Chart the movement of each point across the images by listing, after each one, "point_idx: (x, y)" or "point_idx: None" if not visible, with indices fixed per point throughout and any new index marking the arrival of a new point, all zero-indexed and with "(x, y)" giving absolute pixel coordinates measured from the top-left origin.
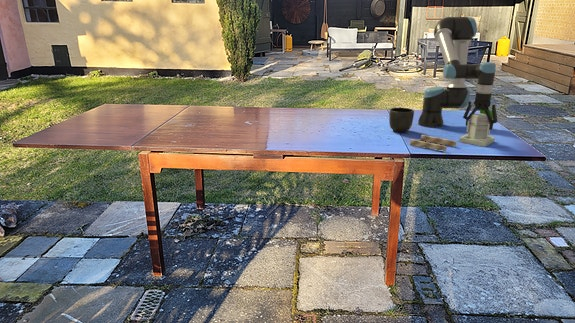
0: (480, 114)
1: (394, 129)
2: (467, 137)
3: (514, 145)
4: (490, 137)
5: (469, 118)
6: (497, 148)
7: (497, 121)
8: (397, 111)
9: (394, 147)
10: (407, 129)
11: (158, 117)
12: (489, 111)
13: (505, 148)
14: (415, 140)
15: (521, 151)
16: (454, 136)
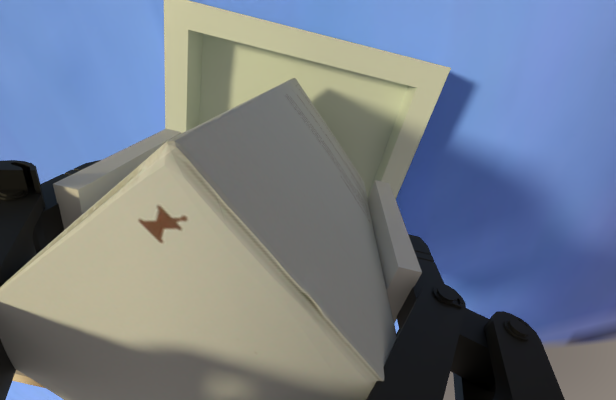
0: (158, 346)
1: None
2: (197, 105)
3: (608, 118)
4: (400, 83)
5: (33, 222)
6: (437, 257)
7: (536, 340)
8: None
9: (22, 389)
10: None
11: None
12: None
13: (495, 237)
14: (35, 383)
15: (597, 262)
16: (84, 60)
